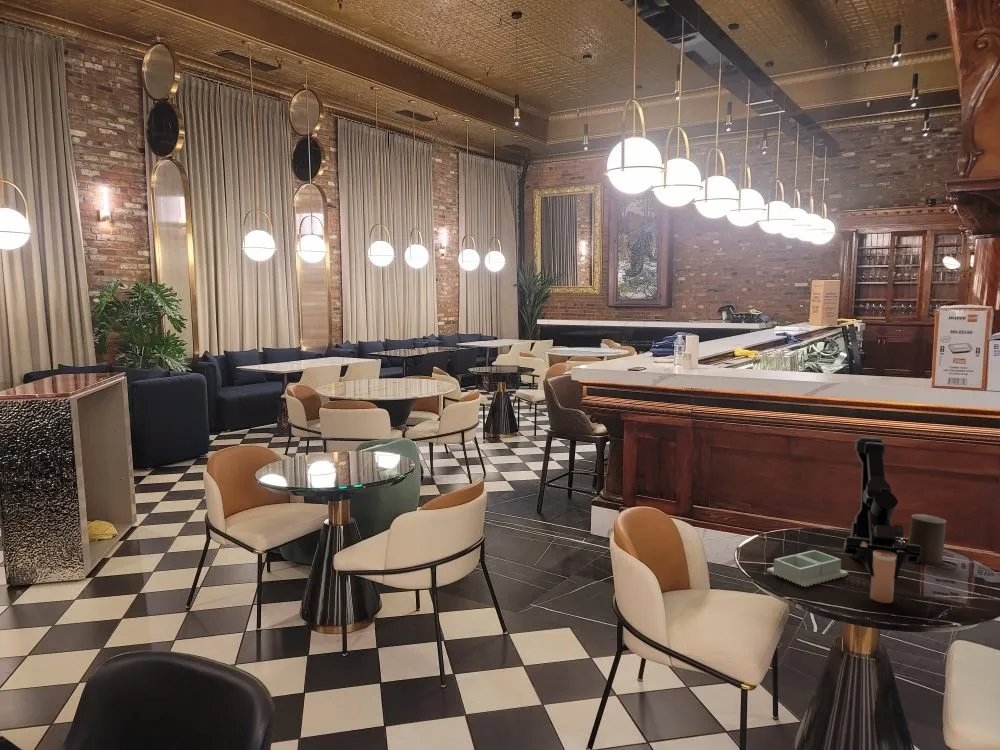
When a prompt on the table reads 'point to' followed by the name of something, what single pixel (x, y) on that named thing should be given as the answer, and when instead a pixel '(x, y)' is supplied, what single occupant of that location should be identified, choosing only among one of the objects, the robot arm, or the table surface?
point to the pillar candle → (928, 537)
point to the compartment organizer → (808, 568)
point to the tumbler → (883, 576)
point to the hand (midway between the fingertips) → (883, 577)
